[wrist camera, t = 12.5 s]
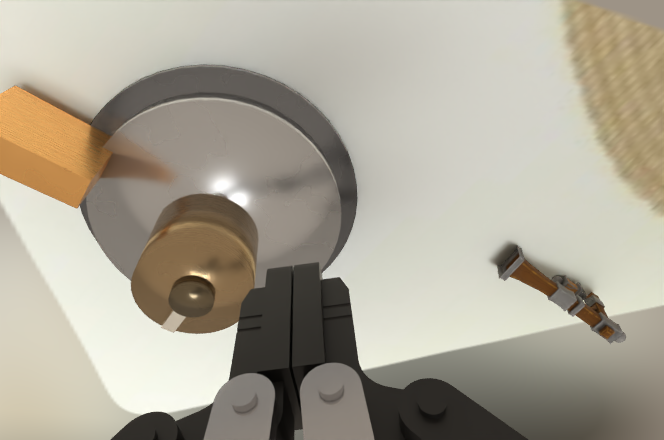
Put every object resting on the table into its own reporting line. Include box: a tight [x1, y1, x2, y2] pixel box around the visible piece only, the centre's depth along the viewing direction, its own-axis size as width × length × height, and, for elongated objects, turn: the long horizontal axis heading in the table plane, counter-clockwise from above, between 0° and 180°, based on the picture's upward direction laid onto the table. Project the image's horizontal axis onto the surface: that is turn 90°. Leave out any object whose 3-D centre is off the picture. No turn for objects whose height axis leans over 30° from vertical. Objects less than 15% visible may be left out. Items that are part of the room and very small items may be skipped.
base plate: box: [80, 65, 357, 273], centre depth 23 cm, size 14×14×1 cm
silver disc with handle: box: [0, 86, 341, 289], centre depth 20 cm, size 16×12×4 cm
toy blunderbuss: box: [497, 246, 626, 343], centre depth 27 cm, size 2×8×4 cm, turn 60°
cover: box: [131, 194, 259, 334], centre depth 20 cm, size 5×5×5 cm
